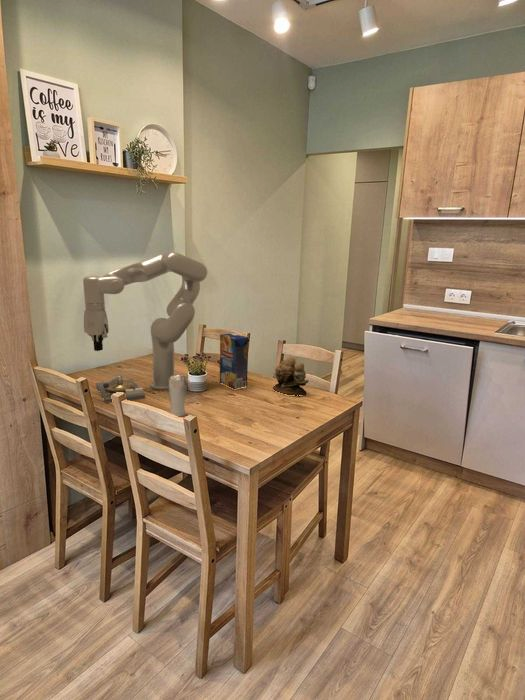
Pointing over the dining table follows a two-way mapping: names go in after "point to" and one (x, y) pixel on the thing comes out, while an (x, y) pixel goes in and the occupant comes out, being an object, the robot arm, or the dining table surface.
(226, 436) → the dining table surface
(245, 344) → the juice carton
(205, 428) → the dining table surface
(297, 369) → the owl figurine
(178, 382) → the beer glass
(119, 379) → the cam foot
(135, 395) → the level stand
